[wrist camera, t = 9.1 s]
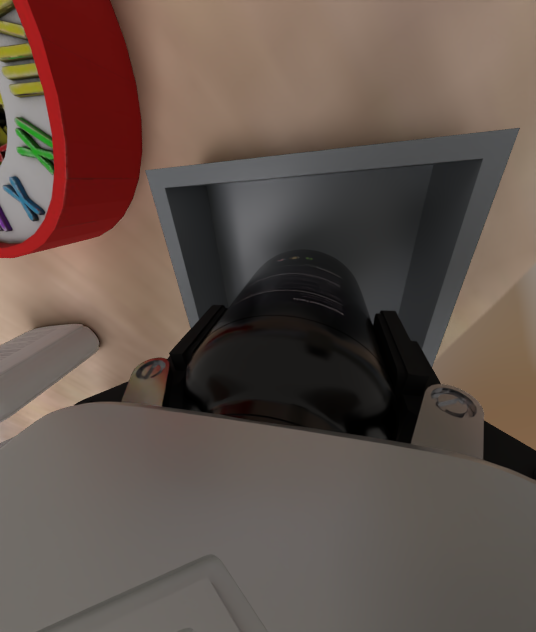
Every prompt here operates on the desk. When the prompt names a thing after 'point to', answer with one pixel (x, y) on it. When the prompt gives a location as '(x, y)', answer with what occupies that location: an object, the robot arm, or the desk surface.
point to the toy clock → (64, 124)
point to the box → (339, 221)
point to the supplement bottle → (296, 353)
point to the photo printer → (40, 362)
